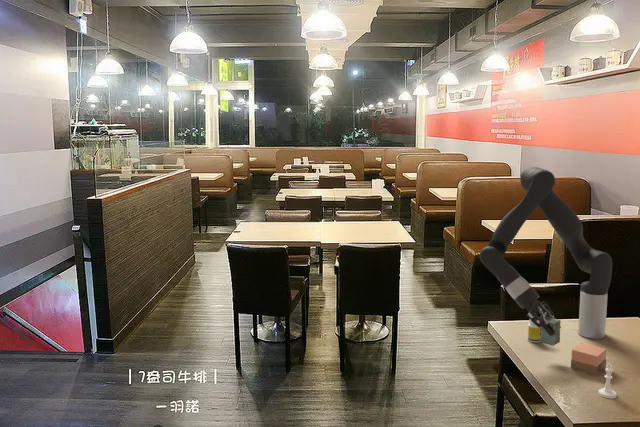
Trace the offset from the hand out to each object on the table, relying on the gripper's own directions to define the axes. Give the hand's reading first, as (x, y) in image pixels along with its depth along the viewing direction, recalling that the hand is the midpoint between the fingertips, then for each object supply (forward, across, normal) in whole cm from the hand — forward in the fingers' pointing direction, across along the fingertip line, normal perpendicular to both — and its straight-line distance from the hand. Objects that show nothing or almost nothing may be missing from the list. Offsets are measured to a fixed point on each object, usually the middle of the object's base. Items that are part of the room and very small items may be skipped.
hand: (556, 331), depth 187 cm
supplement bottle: (-1, +14, +16) cm, 21 cm away
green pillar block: (+2, 0, +4) cm, 5 cm away
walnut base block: (+15, 0, 0) cm, 15 cm away
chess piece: (+22, -15, -6) cm, 27 cm away
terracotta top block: (+13, 0, -2) cm, 13 cm away
